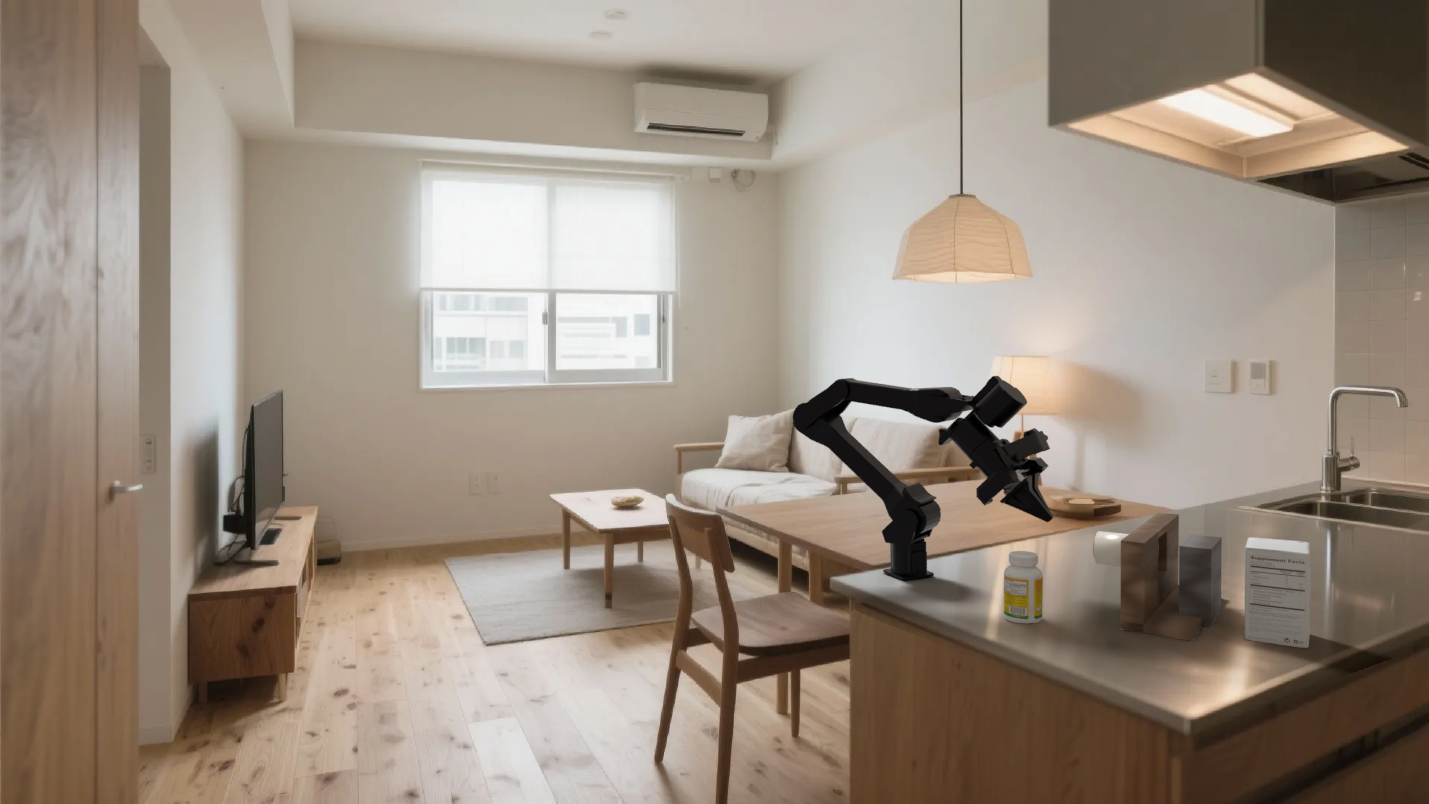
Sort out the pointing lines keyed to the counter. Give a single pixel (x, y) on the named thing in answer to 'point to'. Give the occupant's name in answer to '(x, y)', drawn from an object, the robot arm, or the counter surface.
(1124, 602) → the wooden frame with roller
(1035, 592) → the supplement bottle
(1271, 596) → the supplement box
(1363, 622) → the counter surface
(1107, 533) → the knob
